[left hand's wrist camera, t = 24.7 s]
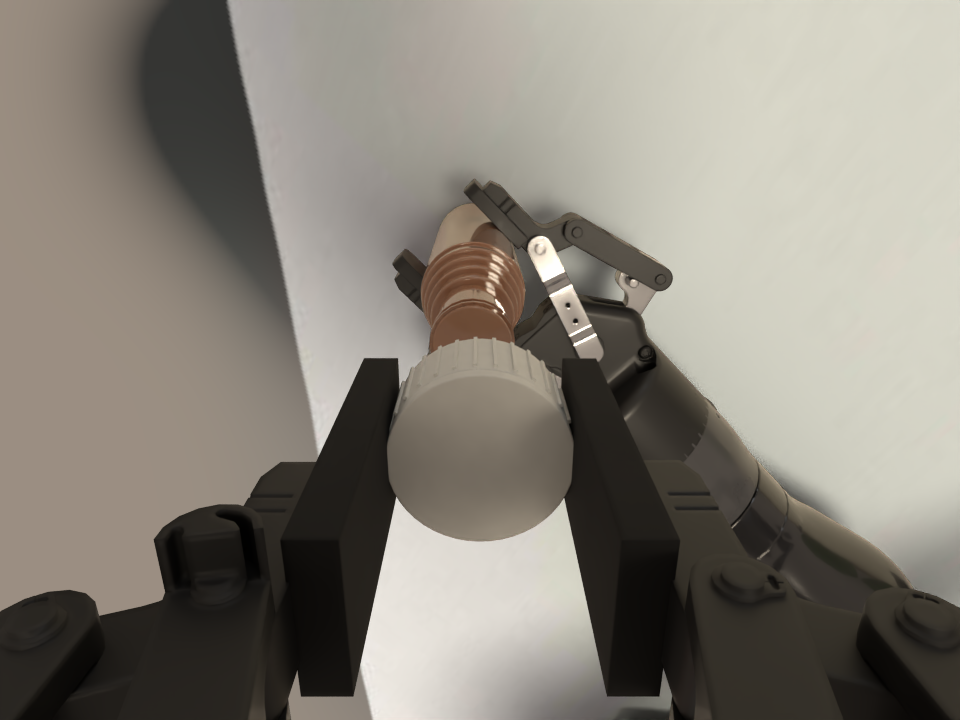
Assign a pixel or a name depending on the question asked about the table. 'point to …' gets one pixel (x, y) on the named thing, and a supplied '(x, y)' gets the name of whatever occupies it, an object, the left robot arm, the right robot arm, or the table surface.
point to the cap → (480, 441)
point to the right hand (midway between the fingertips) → (434, 223)
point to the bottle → (471, 281)
